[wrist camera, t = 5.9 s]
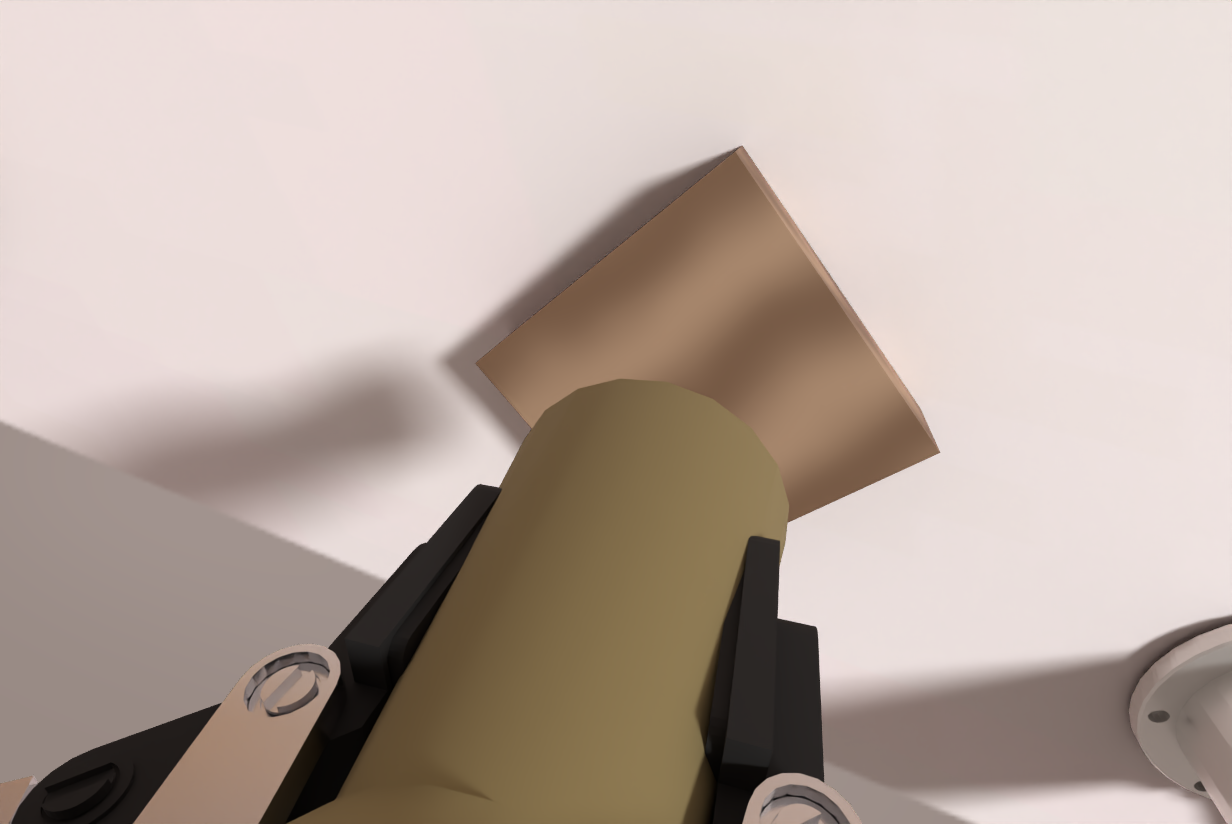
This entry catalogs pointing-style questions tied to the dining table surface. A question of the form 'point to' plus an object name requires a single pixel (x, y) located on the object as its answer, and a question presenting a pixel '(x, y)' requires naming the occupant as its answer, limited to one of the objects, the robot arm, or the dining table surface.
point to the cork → (580, 626)
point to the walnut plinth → (728, 338)
